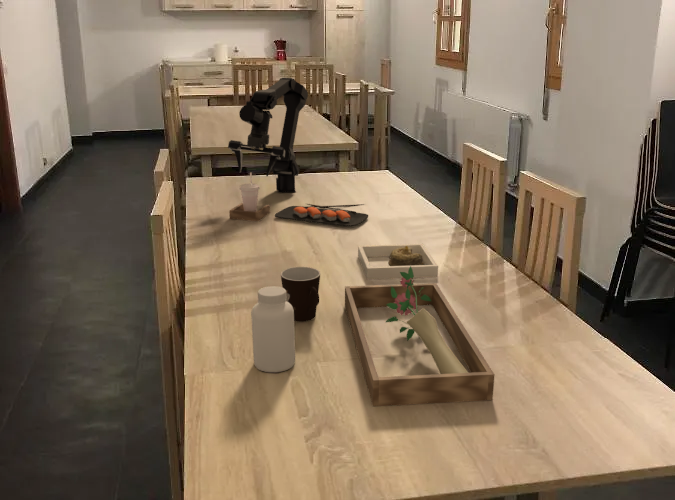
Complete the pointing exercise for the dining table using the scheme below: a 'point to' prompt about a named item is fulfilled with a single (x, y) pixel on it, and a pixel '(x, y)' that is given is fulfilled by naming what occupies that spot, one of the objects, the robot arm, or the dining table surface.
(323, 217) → the sushi plate
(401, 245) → the bagel tray
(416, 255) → the brown round lump
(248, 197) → the smoothie
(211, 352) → the dining table surface
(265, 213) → the rest
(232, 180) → the dining table surface
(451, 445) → the dining table surface
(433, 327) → the flower vase
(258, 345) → the pill bottle
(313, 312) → the coffee mug
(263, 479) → the dining table surface
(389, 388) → the flower tray
